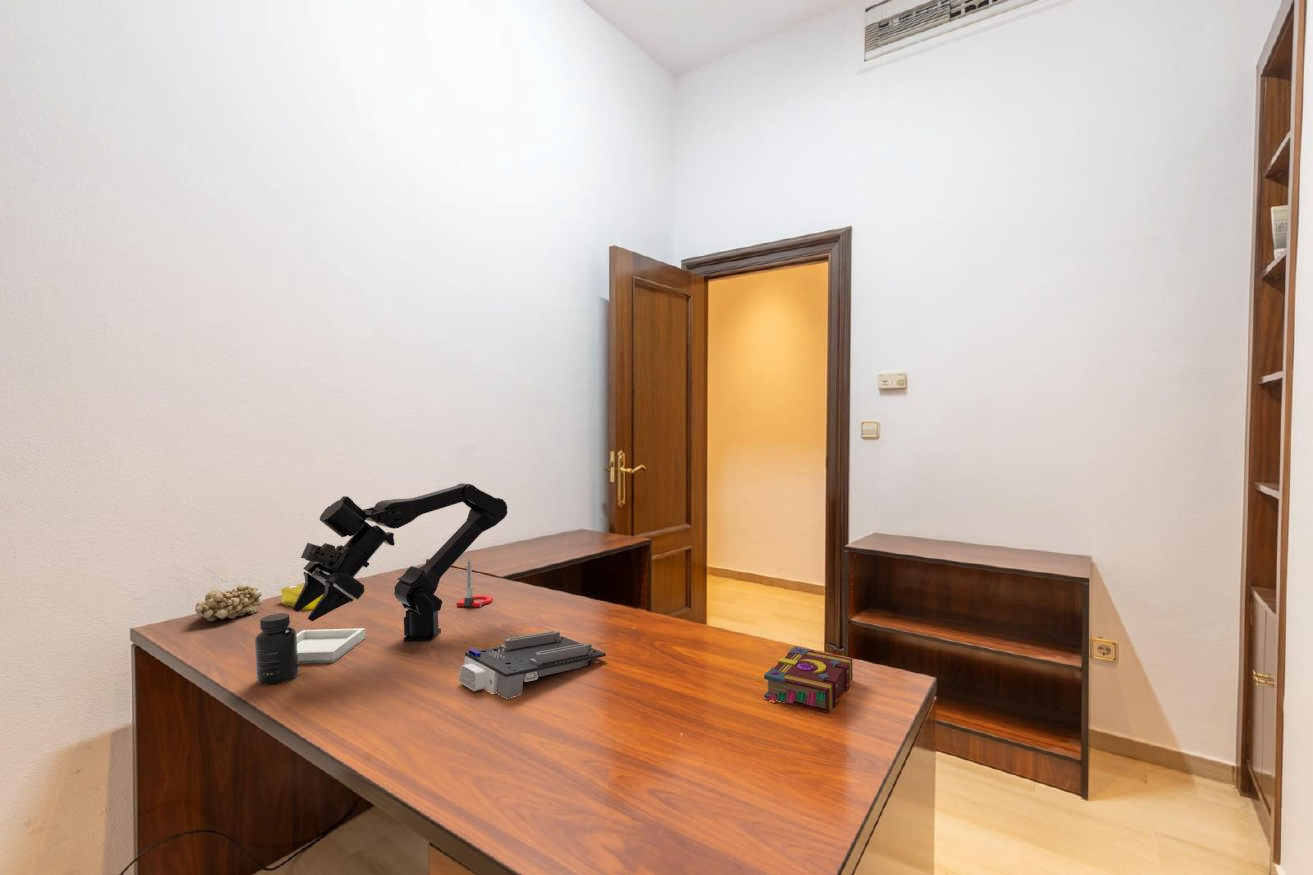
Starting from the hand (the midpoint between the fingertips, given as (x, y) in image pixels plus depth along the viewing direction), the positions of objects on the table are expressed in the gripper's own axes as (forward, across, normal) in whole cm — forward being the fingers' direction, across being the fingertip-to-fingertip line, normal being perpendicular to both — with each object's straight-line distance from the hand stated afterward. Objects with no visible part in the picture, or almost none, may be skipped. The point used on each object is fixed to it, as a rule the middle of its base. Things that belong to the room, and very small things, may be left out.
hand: (302, 615), depth 118 cm
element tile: (-6, -51, +22) cm, 56 cm away
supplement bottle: (+11, 0, +5) cm, 12 cm away
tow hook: (-25, -14, +40) cm, 49 cm away
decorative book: (-32, +80, +48) cm, 99 cm away
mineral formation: (+10, -53, +6) cm, 54 cm away
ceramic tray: (+4, -10, +12) cm, 16 cm away
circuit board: (-13, +35, +29) cm, 47 cm away
